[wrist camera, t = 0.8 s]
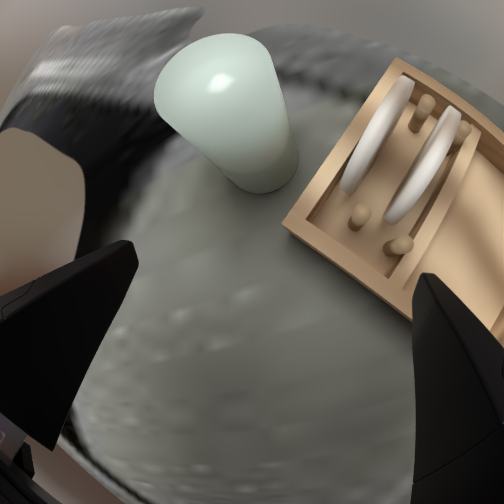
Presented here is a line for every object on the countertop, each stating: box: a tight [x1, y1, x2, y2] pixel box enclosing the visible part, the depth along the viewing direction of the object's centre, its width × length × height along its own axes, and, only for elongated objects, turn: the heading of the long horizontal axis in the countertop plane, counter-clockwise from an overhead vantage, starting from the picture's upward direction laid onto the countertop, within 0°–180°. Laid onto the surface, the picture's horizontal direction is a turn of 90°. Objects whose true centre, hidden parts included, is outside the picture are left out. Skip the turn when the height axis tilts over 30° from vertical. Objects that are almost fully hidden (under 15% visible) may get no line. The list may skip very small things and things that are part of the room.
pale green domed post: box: [154, 34, 298, 194], centre depth 17 cm, size 6×6×11 cm
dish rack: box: [281, 57, 504, 347], centre depth 14 cm, size 15×18×9 cm
